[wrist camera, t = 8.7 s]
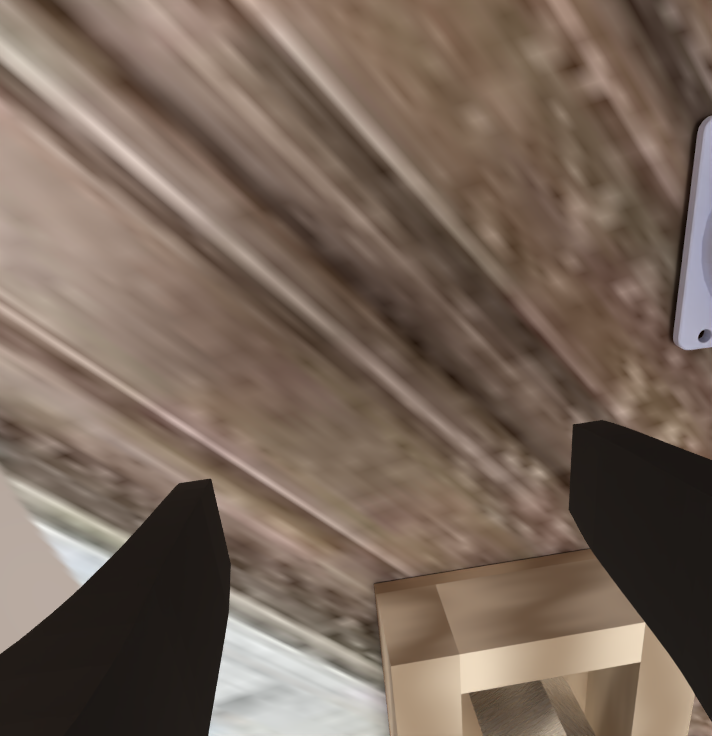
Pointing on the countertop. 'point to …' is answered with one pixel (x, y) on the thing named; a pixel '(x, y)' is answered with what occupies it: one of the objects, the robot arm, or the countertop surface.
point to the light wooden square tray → (524, 647)
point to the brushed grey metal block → (531, 710)
